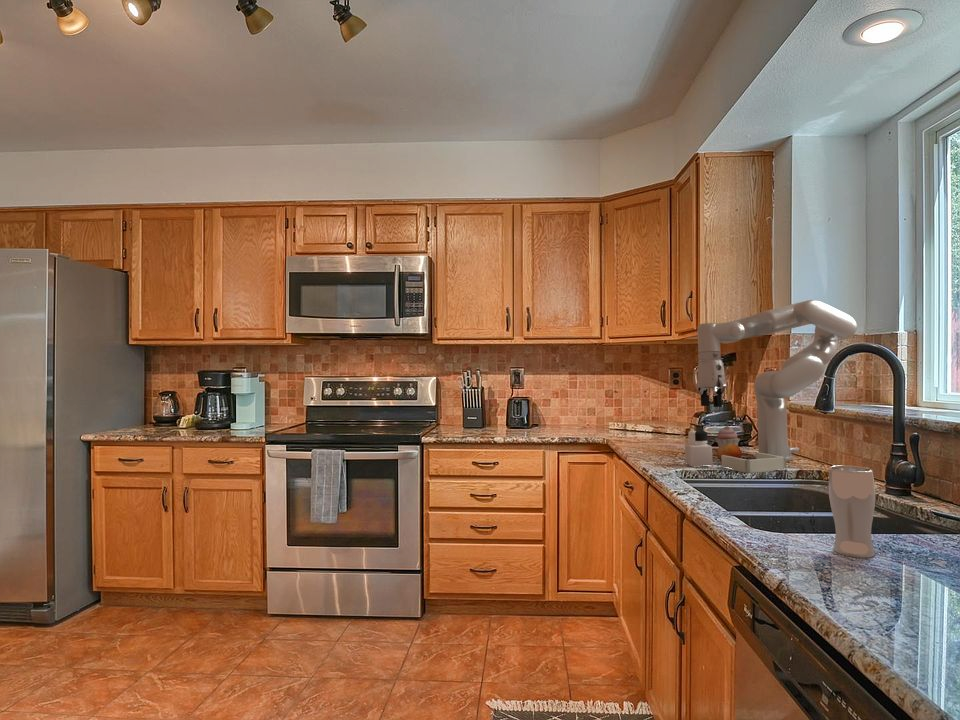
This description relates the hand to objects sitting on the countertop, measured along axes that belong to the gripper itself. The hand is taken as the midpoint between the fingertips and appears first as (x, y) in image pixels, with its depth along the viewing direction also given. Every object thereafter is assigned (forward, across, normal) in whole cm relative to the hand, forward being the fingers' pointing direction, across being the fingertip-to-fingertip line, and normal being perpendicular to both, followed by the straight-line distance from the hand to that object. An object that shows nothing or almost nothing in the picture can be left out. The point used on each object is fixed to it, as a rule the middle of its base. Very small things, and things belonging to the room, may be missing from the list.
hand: (711, 405), depth 204 cm
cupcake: (+20, +17, -20) cm, 33 cm away
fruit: (+20, -8, 0) cm, 22 cm away
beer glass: (+20, -95, +44) cm, 107 cm away
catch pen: (+20, -20, 0) cm, 28 cm away
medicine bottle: (+20, -8, +12) cm, 24 cm away
